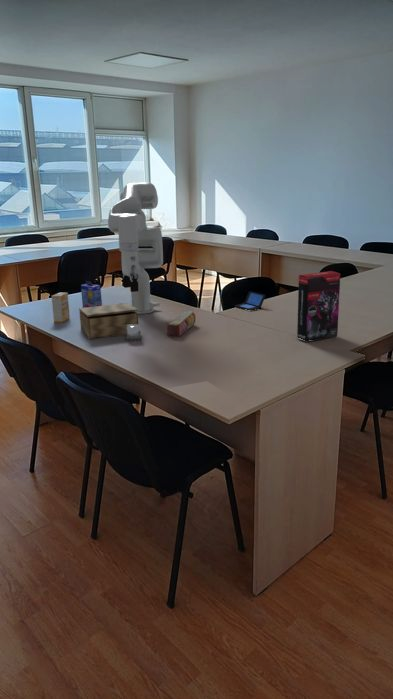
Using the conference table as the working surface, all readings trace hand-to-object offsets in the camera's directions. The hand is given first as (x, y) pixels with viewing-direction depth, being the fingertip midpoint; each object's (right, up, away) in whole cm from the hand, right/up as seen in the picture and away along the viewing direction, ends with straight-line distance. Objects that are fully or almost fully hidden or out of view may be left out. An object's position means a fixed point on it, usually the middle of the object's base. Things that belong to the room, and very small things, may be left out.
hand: (130, 289), depth 214 cm
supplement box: (-38, -11, +38) cm, 55 cm away
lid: (-12, -7, +17) cm, 22 cm away
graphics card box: (+77, -20, +6) cm, 80 cm away
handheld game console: (+55, -3, +58) cm, 80 cm away
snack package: (+20, -17, +19) cm, 32 cm away
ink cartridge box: (-28, -3, +62) cm, 68 cm away
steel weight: (0, -20, +7) cm, 22 cm away
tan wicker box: (-12, -16, +20) cm, 28 cm away
